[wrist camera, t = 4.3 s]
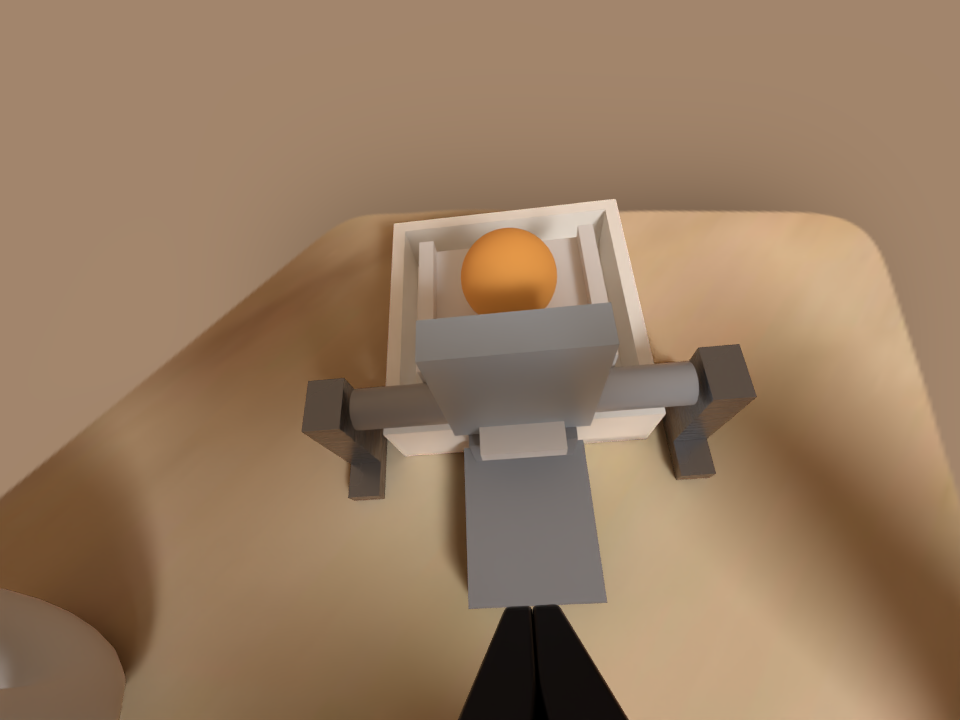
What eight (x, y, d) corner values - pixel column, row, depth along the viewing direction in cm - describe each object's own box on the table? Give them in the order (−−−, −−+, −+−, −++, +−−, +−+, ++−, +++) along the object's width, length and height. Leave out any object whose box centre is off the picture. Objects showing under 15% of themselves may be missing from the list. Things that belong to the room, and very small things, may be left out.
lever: (699, 596, 18) (888, 612, 8) (382, 611, 19) (227, 639, 9) (631, 295, 24) (694, 106, 14) (395, 318, 25) (309, 154, 15)
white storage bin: (646, 439, 21) (666, 413, 18) (405, 456, 22) (383, 434, 19) (605, 245, 26) (615, 198, 23) (410, 265, 27) (393, 223, 24)
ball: (560, 337, 17) (565, 284, 14) (468, 345, 18) (454, 295, 15) (549, 263, 19) (552, 200, 16) (465, 272, 19) (452, 212, 16)
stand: (709, 477, 20) (771, 440, 15) (354, 500, 21) (296, 473, 16) (681, 372, 22) (727, 308, 17) (362, 399, 23) (312, 346, 18)
